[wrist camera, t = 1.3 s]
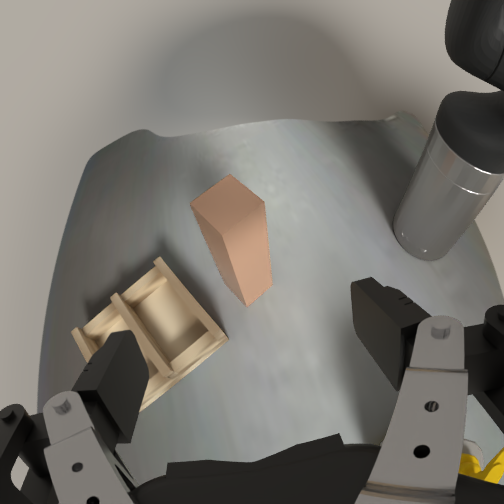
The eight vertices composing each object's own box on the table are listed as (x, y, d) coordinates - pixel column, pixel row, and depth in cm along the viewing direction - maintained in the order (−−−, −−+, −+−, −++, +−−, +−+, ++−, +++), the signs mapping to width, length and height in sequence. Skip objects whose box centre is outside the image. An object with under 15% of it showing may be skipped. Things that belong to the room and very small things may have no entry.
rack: (173, 274, 39) (159, 256, 34) (229, 339, 34) (220, 328, 30) (93, 342, 35) (71, 331, 31) (138, 413, 31) (117, 412, 26)
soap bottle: (436, 443, 25) (541, 450, 10) (400, 492, 23) (486, 540, 8) (395, 415, 28) (490, 413, 12) (357, 466, 26) (424, 514, 10)
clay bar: (250, 262, 38) (229, 173, 24) (272, 284, 37) (264, 201, 23) (224, 284, 37) (189, 203, 23) (247, 307, 36) (221, 235, 22)
